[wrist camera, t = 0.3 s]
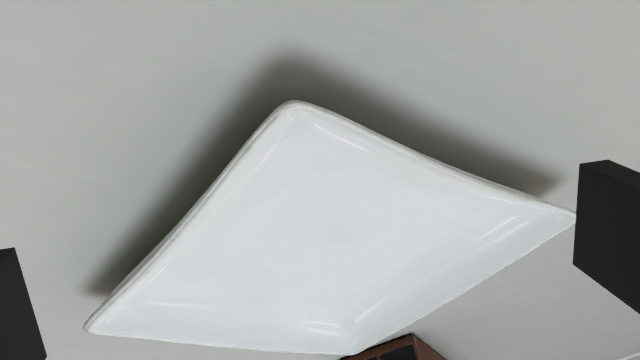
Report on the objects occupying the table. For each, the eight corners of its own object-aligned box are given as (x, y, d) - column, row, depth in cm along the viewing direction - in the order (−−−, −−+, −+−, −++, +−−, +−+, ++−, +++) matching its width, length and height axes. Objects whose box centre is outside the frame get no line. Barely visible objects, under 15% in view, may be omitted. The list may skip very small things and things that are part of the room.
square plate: (277, 46, 27) (289, 102, 25) (565, 180, 43) (589, 222, 41) (81, 294, 42) (77, 343, 40) (347, 325, 58) (355, 362, 56)
